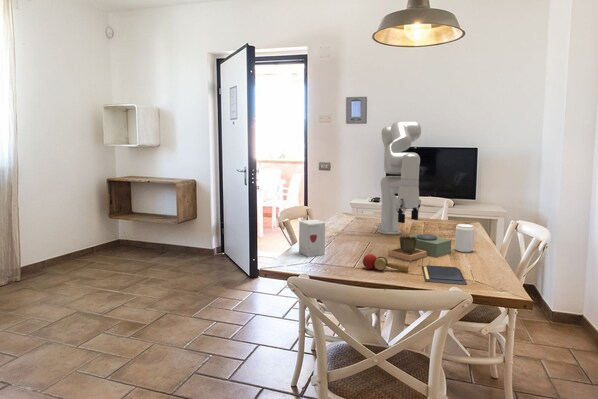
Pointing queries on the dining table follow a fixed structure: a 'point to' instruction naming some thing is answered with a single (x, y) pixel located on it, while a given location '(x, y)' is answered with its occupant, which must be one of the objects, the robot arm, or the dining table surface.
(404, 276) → the dining table surface
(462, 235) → the beverage can
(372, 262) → the kendama
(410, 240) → the dark bronze domed piece
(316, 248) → the supplement box
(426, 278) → the wallet
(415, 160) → the robot arm
